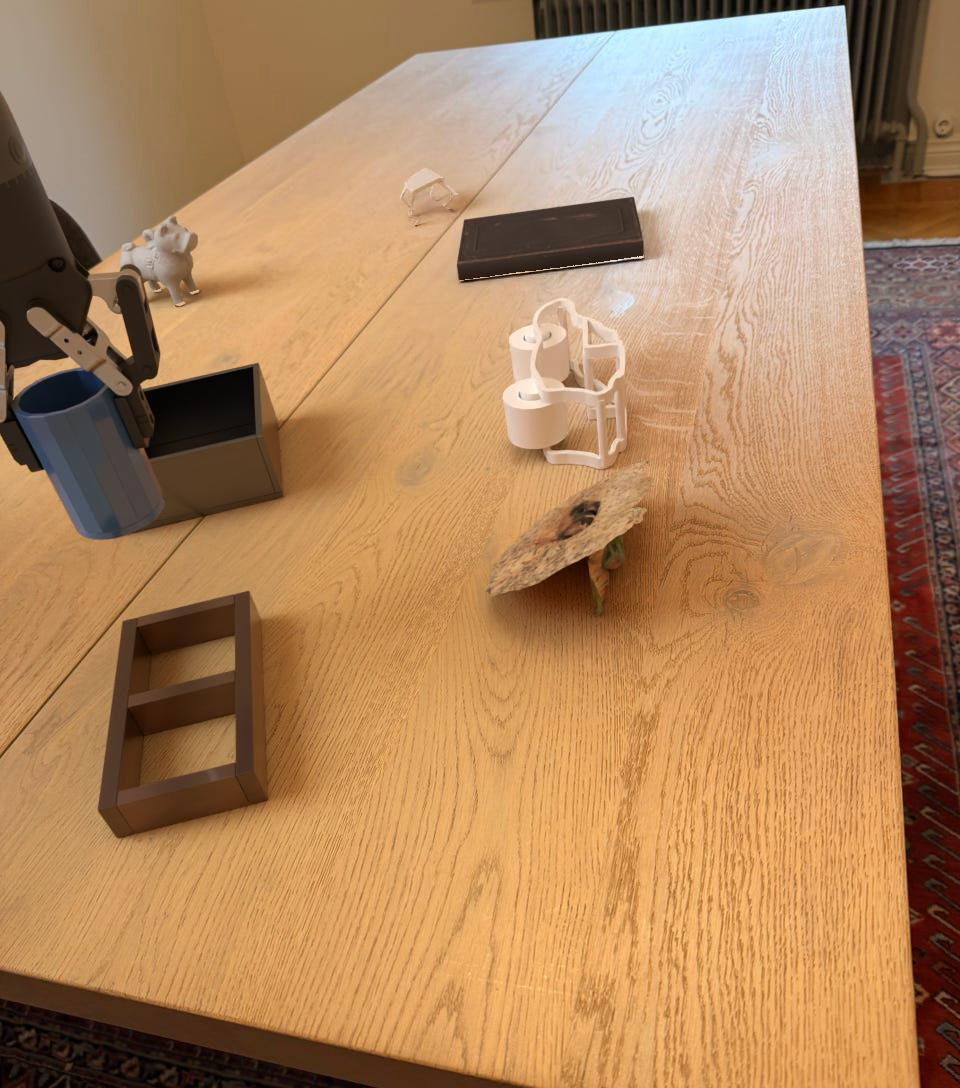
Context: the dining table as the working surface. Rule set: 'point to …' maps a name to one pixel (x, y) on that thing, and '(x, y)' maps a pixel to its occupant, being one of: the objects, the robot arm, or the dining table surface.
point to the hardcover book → (549, 238)
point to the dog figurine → (164, 257)
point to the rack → (184, 717)
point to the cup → (89, 454)
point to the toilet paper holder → (542, 396)
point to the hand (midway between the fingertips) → (91, 452)
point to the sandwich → (577, 535)
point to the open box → (214, 444)
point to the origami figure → (422, 182)
